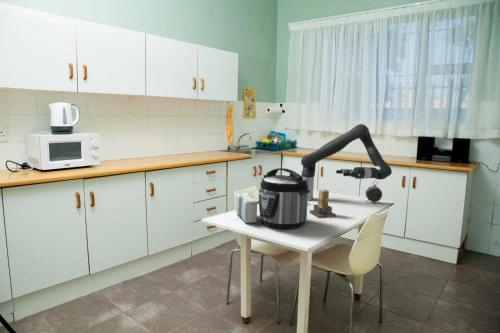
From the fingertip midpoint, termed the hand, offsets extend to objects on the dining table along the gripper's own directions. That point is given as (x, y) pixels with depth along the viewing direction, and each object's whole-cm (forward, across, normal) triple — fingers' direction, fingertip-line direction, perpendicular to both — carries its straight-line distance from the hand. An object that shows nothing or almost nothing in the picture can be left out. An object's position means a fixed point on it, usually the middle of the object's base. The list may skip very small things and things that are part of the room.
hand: (339, 173), depth 223 cm
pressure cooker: (+42, +11, +27) cm, 51 cm away
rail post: (+10, 0, +25) cm, 27 cm away
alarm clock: (-42, -20, +26) cm, 53 cm away
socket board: (+10, 0, +26) cm, 28 cm away
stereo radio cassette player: (+60, -1, +28) cm, 66 cm away
